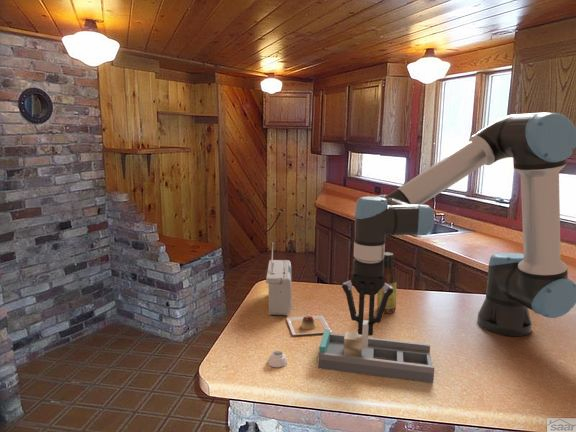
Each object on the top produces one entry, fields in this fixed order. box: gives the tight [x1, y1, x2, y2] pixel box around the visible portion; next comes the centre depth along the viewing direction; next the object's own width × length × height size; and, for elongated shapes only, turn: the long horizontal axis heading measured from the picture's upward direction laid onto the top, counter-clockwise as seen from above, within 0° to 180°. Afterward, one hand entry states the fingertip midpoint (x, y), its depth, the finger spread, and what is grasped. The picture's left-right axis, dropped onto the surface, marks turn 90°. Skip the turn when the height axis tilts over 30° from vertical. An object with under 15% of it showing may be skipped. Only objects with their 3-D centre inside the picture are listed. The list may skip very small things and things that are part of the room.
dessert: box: [285, 313, 333, 336], centre depth 133 cm, size 12×12×5 cm
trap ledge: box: [317, 328, 435, 384], centre depth 112 cm, size 28×12×6 cm, turn 77°
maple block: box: [344, 330, 362, 357], centre depth 113 cm, size 4×4×4 cm
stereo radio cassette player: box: [265, 242, 292, 317], centre depth 148 cm, size 21×8×20 cm, turn 179°
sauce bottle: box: [376, 251, 397, 314], centre depth 143 cm, size 7×6×20 cm
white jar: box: [267, 349, 288, 368], centre depth 112 cm, size 5×3×5 cm
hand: (364, 345), depth 112 cm, fingers closed
